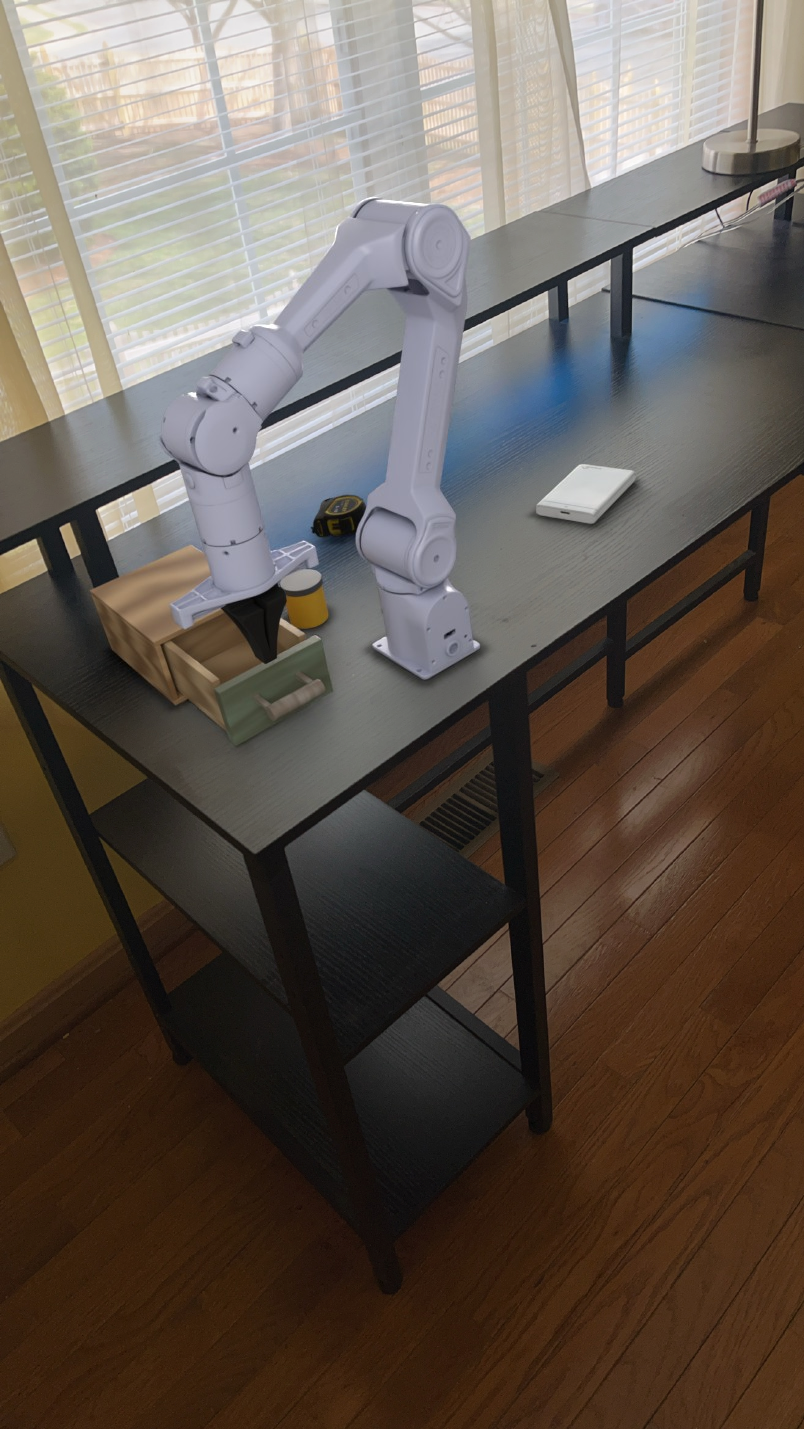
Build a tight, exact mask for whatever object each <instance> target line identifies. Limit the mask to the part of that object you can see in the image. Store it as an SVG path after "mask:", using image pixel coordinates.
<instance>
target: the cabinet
mask: <svg viewBox="0 0 804 1429" xmlns="http://www.w3.org/2000/svg"><path fill="white" fill-rule="evenodd" d="M210 576H211V573H210V569H209V566H208V563H207V559H206V556H205V552H204V551H201V550H200V549H198V548H196V546H193V545H192V544H189V545H186V546H185V547H182V548H180V549H178V550H175V551H174V552H171V553H169V554H167V555H164V556H162V557H160V558H158V559H156V560H154V561H152V562H149V563H147V564H144V565H142V566H140V567H138V568H136V569H134V570H131V571H130V572H127V573H125V574H123V575H121V576H119V577H116V578H114V579H112V580H109V581H108V582H105V583H103V584H101V585H99V586H96V587H94V588H92V589H90V590H89V593H90V595H91V598H92V601H93V603H94V606H95V608H96V612H97V614H98V616H99V619H100V622H101V626H102V627H103V630H104V632H105V634H106V638H107V640H108V643H109V645H110V648H111V651H112V652H114V653H115V655H117V656H118V657H119V658H121V659H122V660H123V661H124V662H126V664H128V666H130V667H131V668H132V669H133V670H134V671H135V672H137V674H139V675H140V676H141V677H142V678H144V680H145V681H147V682H148V683H149V684H150V685H152V686H153V687H154V688H155V689H156V690H157V691H158V692H160V694H161V695H163V697H165V698H166V699H167V700H168V701H170V702H171V703H172V704H173V705H174V706H178V705H180V704H181V703H183V702H185V701H187V700H189V699H188V698H187V697H185V696H184V695H183V694H182V693H181V692H180V691H178V690H177V689H176V688H175V686H174V684H173V681H172V678H171V675H170V672H169V669H168V666H167V663H166V660H165V657H164V654H163V651H162V648H161V646H160V645H161V644H163V643H165V642H167V641H169V640H171V639H173V638H175V637H177V636H179V635H181V634H183V633H185V632H187V631H189V630H191V629H193V628H195V627H197V626H199V625H201V624H203V623H205V622H207V621H209V620H211V619H213V618H215V617H217V616H219V615H221V614H223V613H225V612H224V611H223V610H222V609H221V608H220V609H218V610H215V611H213V612H211V613H209V614H207V615H205V616H203V617H201V618H199V619H197V620H195V621H194V625H193V626H191V627H189V628H187V629H183V628H182V627H181V626H179V625H178V624H177V623H176V622H175V621H174V618H173V614H172V611H171V608H170V605H169V604H170V603H172V602H174V601H176V600H178V599H180V598H181V597H183V596H184V595H186V594H187V593H188V592H190V591H191V590H192V589H194V588H195V587H196V586H198V585H199V584H200V583H202V582H203V581H204V580H206V579H207V578H208V577H210Z"/></svg>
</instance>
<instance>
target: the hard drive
mask: <svg viewBox="0 0 804 1429" xmlns="http://www.w3.org/2000/svg"><path fill="white" fill-rule="evenodd" d="M635 481H636V471H634V470H632V469H624V468H616V467H615V468H614V467H609V466H601V465H592V464H585V463H580V464H578V465H577V466H576V467H575V468H574V469H573V470H571V472H570V473H569V474H568V475H567V476H566V477H565V478H563V479H562V480H561V481H560V482H559V483H558V484H557V485H556V486H555V487H554V488H553V489H552V490H551V491H550V492H548V494H546V495H545V496H544V497H543V498H542V499H541V500H540V501H539V502H538V503H537V504H535V511H536V512H535V513H536V514H537V515H539V516H543V517H549V518H555V519H561V520H565V521H566V520H567V521H573V522H579V523H584V524H589V525H593V524H595V523H596V522H597V521H598V519H600V518H601V517H602V516H603V515H604V513H605V512H607V511H608V509H609V508H610V507H611V506H612V505H613V504H614V503H615V502H616V501H617V500H619V498H620V497H621V496H622V495H623V494H624V493H625V492H626V491H627V490H628V488H630V487H631V486H632V484H633V483H634V482H635Z"/></svg>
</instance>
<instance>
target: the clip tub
mask: <svg viewBox="0 0 804 1429" xmlns="http://www.w3.org/2000/svg"><path fill="white" fill-rule="evenodd" d="M323 583H324V581H323V576H322V574H321V572H319V571H317V570H315V569H312V568H302V569H300V570H298V571H296V572H294V573H292V574H290V575H288V576H286V577H284V578H282V579H281V580H280V581H279V583H278V586H279V587H281V588H282V589H284V590H285V593H286V597H287V602H286V604H285V608H286V611H287V612H286V613H287V617H288V620H289V624H291V625H292V626H294V627H295V628H297V629H299V630H300V629H301V630H302V629H303V630H307V629H313V628H316V627H318V626H321V625H322V624H324V623H325V622H326V621H327V620H328V618H329V611H328V604H327V600H326V596H325V592H324V587H323Z"/></svg>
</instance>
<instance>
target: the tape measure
mask: <svg viewBox="0 0 804 1429" xmlns="http://www.w3.org/2000/svg"><path fill="white" fill-rule="evenodd" d="M366 506H367V503H366V502H365V501H364V499H363V498H362V497H360V496H359V495H355V494H342V495H338V496H334V497H330V498H326V499H324V500H322V501H321V503H320V505H319V509H318V511H317V513H316V515H315V516H314V518H313V522H312V526H310V529H311V533H312V534H314V535H315V536H316V537H318V538H327V537H330V536H331V537H345V536H349V535H350V536H351V535H353V534H356V532H357V528H358V525H359V523H360V521H361V519H362V517H363V516H364V513H365V510H366Z"/></svg>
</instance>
